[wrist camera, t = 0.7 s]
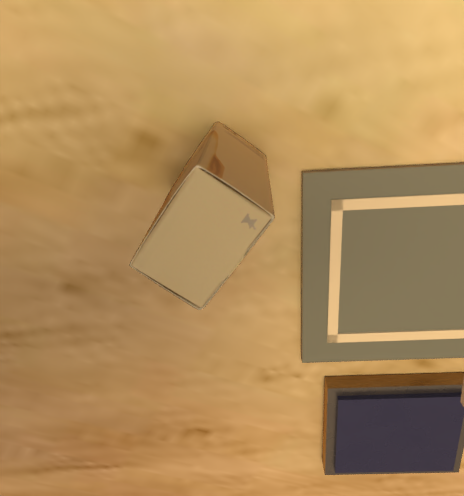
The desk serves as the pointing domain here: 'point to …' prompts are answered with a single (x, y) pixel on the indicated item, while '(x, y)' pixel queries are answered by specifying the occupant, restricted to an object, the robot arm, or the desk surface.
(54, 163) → the desk surface
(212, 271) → the skincare box
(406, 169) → the marked board
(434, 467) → the ink pad
